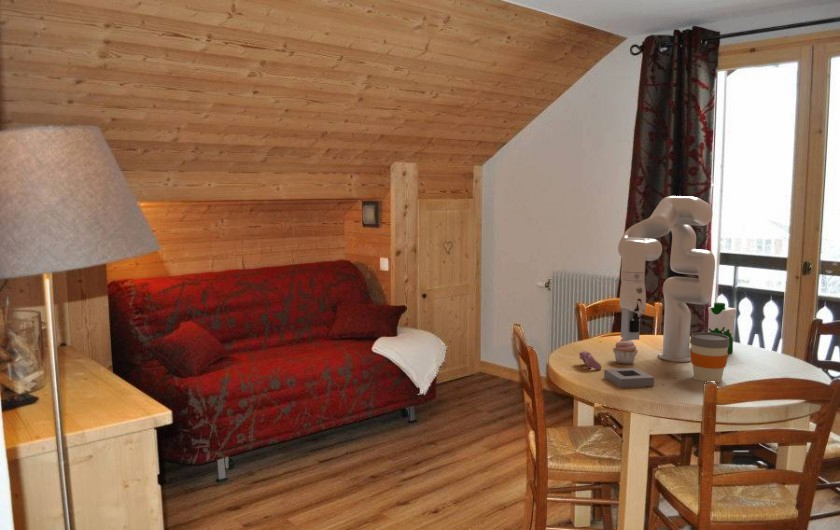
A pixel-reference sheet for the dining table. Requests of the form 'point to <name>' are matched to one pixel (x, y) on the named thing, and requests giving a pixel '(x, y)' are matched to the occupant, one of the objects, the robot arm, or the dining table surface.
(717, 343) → the reusable coffee cup
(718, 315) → the milk carton
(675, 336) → the robot arm
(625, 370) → the socket
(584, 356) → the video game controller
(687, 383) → the dining table surface
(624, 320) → the plug
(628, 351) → the cupcake
